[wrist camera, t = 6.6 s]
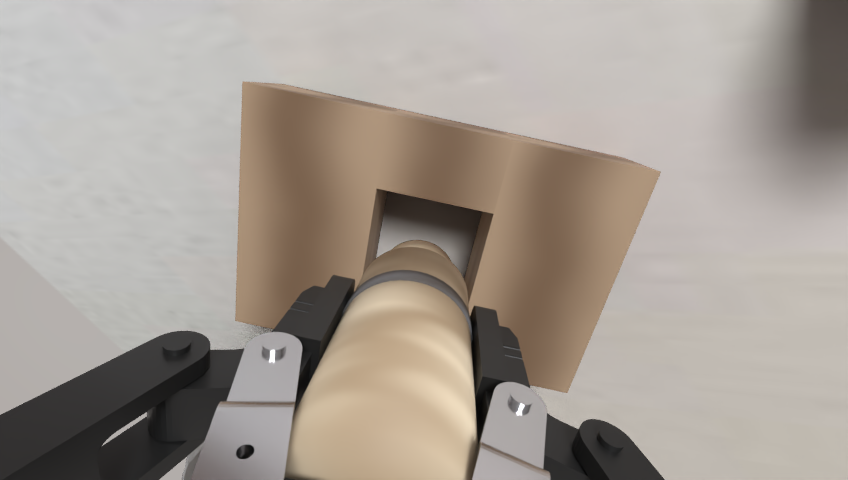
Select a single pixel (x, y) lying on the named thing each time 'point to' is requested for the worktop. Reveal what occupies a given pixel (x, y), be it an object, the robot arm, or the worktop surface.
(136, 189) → the worktop surface
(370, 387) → the peg
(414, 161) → the board
